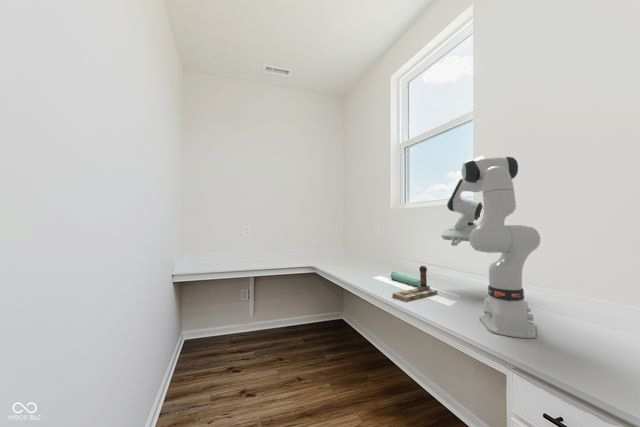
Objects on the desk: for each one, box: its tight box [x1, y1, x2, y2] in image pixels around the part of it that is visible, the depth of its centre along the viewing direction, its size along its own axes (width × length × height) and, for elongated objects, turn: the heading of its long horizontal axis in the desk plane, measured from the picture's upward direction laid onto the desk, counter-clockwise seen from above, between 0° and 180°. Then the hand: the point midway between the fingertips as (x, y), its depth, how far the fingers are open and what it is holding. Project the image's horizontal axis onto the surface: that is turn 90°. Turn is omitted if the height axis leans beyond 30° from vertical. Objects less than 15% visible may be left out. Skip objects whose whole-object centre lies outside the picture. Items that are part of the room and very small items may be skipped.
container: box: [390, 271, 421, 287], centre depth 183 cm, size 6×6×25 cm
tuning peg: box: [417, 265, 433, 291], centre depth 155 cm, size 5×7×13 cm
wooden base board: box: [392, 288, 438, 303], centre depth 153 cm, size 24×10×2 cm, turn 121°
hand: (453, 245), depth 159 cm, fingers closed
